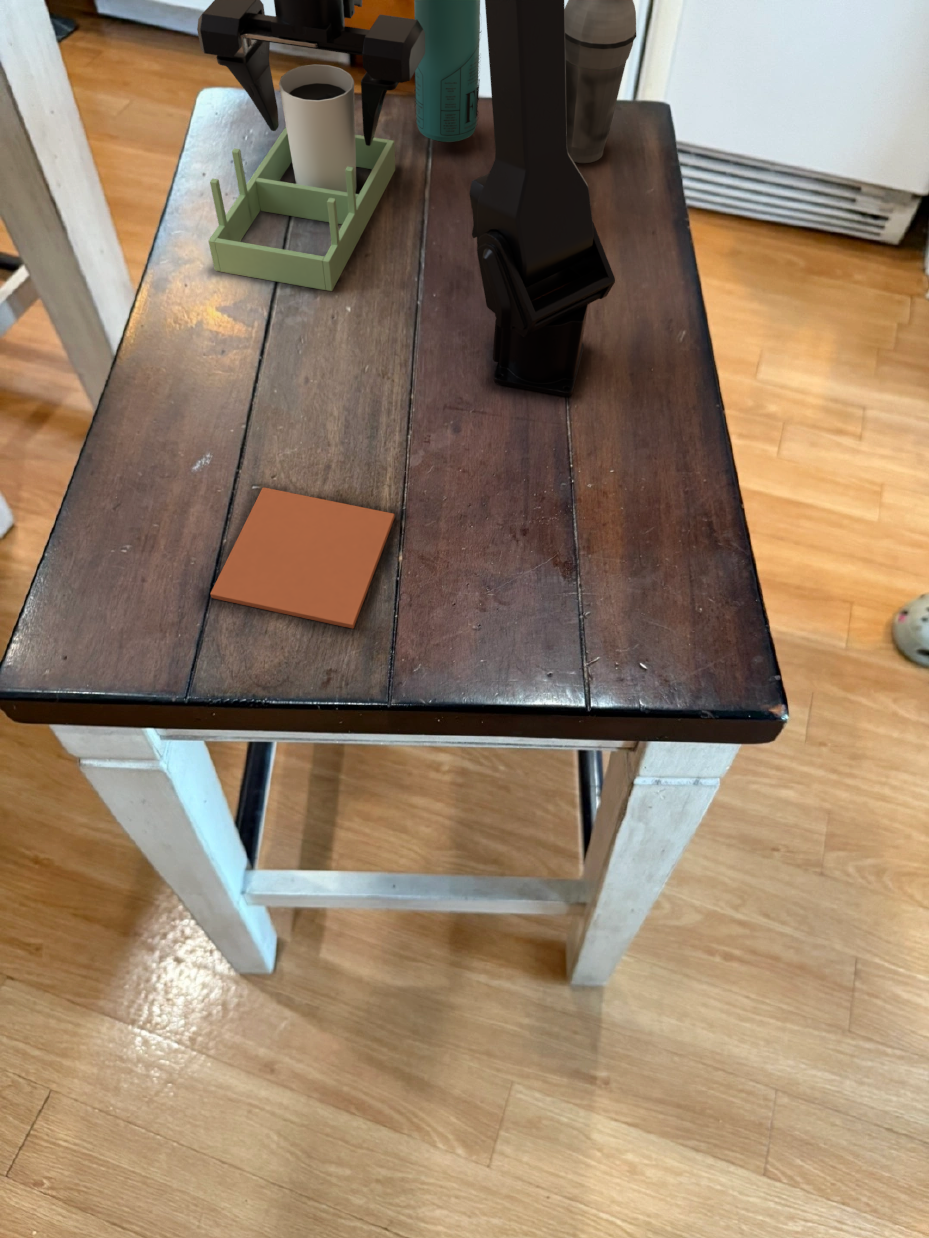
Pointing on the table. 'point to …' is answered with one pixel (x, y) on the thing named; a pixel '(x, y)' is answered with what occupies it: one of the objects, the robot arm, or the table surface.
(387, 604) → the table surface
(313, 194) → the dish rack
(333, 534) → the mat
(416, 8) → the beverage bottle
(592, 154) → the beverage cup
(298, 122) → the off-white tumbler
